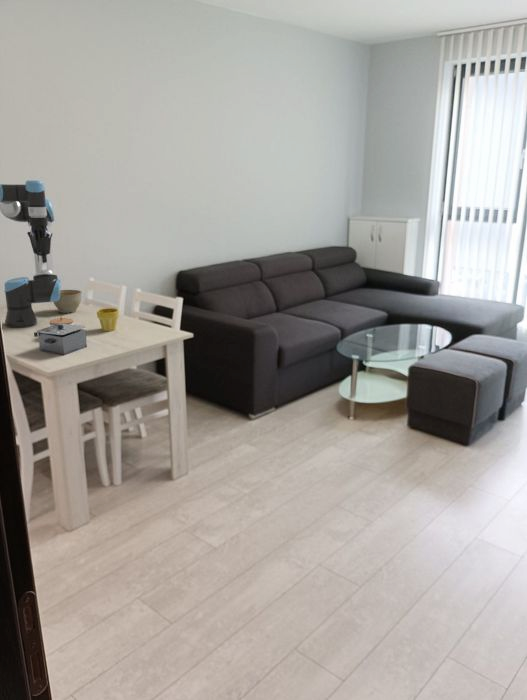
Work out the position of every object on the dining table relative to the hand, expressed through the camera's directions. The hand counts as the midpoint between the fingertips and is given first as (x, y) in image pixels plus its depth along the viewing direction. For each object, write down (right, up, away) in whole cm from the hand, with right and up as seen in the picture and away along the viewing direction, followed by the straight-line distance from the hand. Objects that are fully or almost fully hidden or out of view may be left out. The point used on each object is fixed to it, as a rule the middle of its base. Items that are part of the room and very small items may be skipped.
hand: (43, 269), depth 262 cm
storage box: (+11, -36, -6) cm, 38 cm away
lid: (+11, -28, -8) cm, 32 cm away
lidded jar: (+4, -30, +13) cm, 33 cm away
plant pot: (+23, -27, +26) cm, 43 cm away
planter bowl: (-9, -15, +60) cm, 63 cm away
